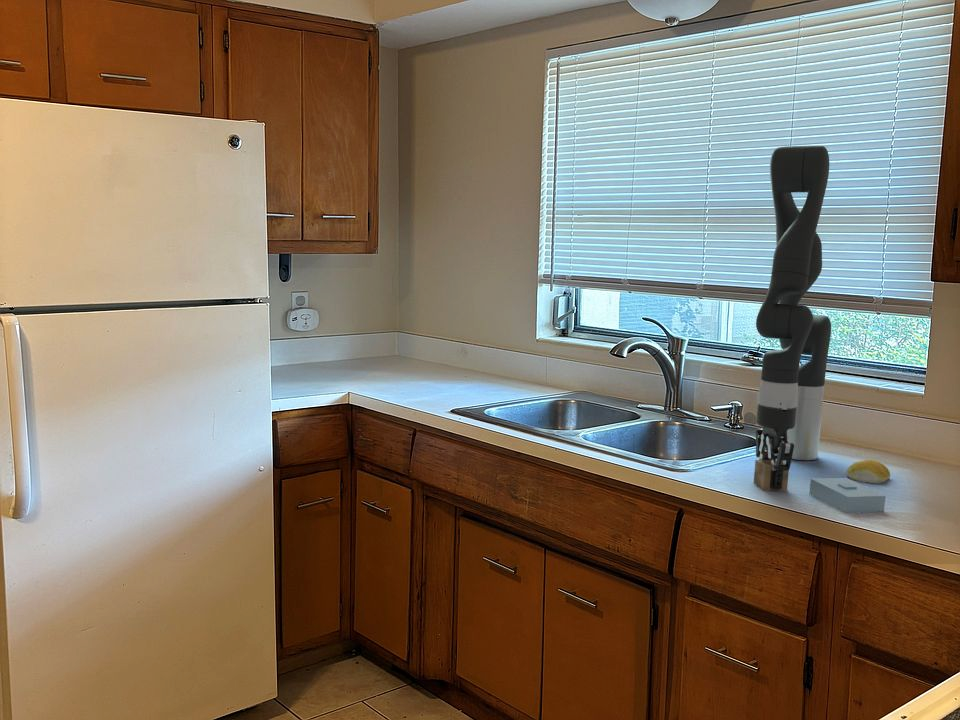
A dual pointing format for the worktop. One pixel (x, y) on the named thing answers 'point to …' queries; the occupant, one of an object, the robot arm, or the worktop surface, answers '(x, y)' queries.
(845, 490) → the butter dish
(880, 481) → the bread roll
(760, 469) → the walnut cube
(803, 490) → the worktop surface
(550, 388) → the worktop surface
